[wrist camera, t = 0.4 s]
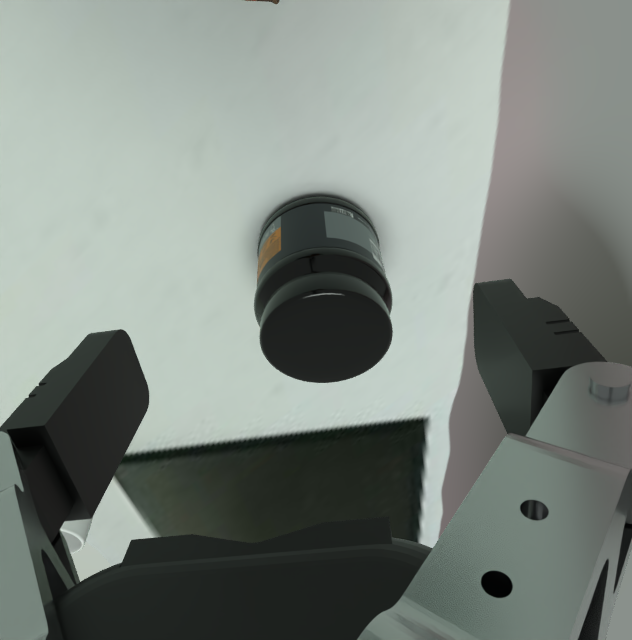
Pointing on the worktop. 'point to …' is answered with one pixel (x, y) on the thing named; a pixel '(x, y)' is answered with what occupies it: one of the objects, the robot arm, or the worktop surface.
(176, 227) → the worktop surface
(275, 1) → the tin
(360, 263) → the supplement container
